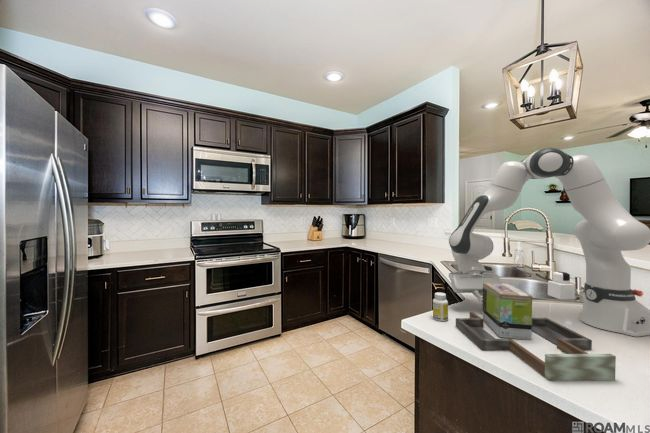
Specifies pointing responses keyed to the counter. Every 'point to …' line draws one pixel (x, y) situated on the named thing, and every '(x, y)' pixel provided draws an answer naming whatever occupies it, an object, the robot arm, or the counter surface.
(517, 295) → the tea box
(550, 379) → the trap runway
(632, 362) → the counter surface
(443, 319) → the supplement bottle
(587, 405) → the counter surface
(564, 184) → the robot arm
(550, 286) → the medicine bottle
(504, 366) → the counter surface
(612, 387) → the counter surface
